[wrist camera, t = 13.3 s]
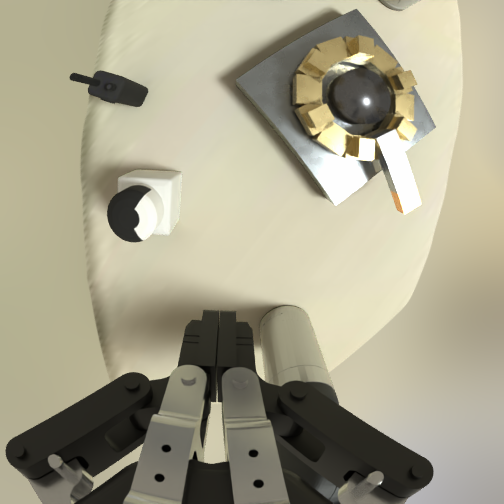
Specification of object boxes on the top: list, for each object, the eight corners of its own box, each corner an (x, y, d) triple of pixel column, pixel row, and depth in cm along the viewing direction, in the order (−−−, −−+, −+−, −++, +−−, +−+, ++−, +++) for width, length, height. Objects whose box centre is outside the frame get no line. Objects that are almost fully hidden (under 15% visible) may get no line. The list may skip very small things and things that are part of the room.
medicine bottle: (134, 215, 40) (102, 246, 29) (135, 168, 37) (99, 184, 26) (179, 219, 40) (159, 252, 30) (183, 171, 38) (161, 187, 27)
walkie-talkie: (150, 88, 32) (105, 68, 19) (140, 109, 34) (90, 101, 20) (123, 79, 31) (69, 59, 18) (113, 100, 32) (56, 90, 19)
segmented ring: (370, 30, 26) (385, 21, 22) (435, 178, 34) (453, 184, 30) (268, 68, 28) (272, 59, 24) (351, 226, 37) (364, 238, 33)
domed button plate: (421, 126, 36) (454, 128, 28) (326, 198, 40) (347, 215, 33) (346, 17, 29) (369, -3, 21) (235, 85, 33) (235, 72, 25)
